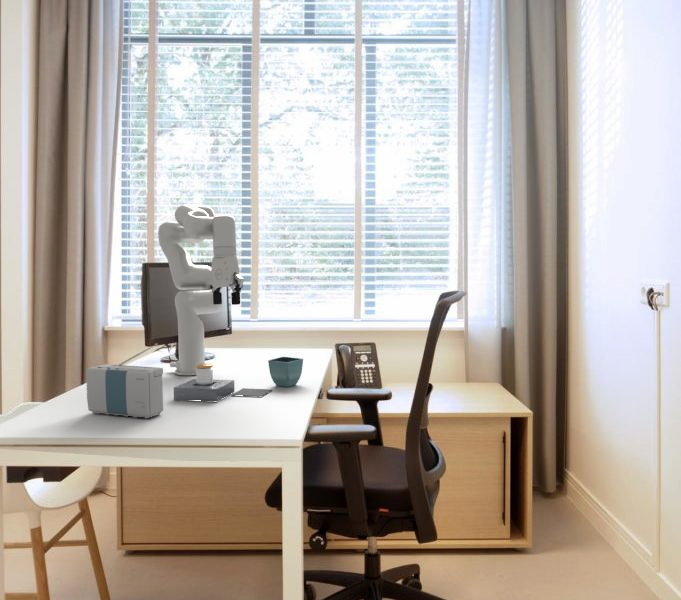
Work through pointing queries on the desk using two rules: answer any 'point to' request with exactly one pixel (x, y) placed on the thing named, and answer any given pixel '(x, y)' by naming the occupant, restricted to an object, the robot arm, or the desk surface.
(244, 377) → the desk surface
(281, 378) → the flower pot
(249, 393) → the mat
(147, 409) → the grey teal equipment box
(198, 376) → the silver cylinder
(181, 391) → the housing
